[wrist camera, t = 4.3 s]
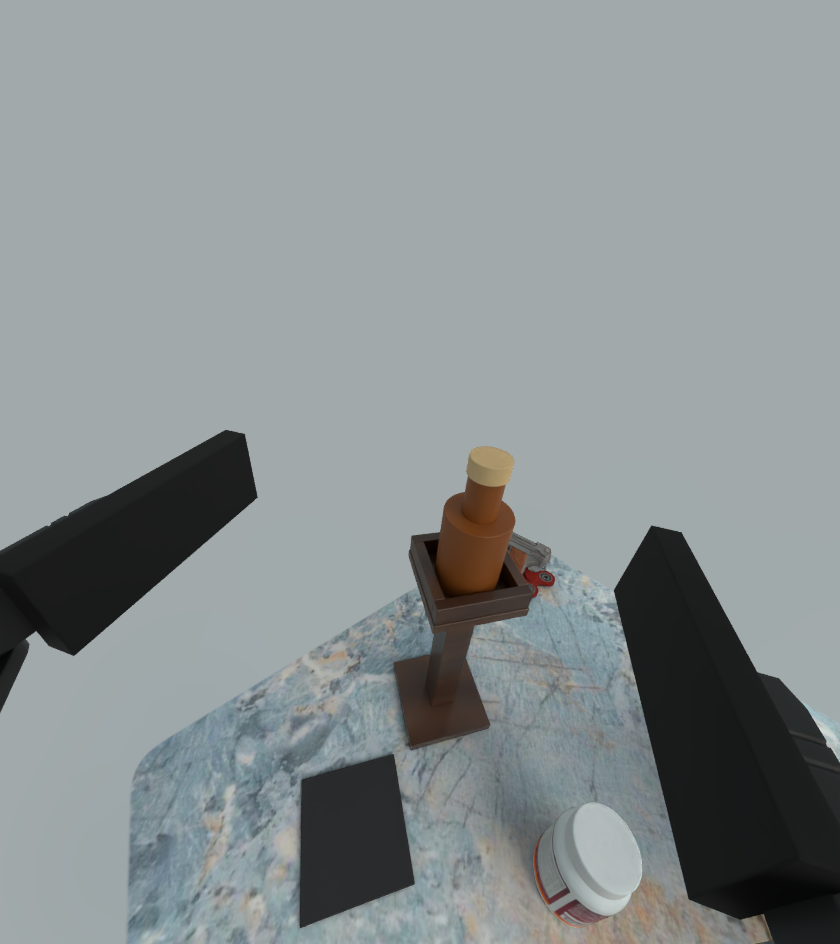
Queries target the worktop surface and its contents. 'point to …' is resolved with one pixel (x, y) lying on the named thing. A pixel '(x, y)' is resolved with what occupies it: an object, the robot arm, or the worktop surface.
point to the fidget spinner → (537, 579)
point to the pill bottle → (587, 865)
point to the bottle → (476, 527)
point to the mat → (352, 839)
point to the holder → (451, 649)
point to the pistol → (528, 552)
